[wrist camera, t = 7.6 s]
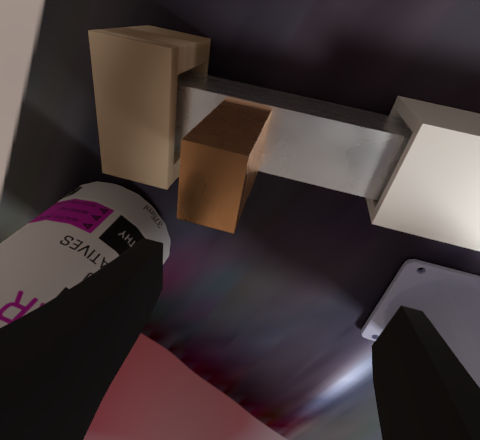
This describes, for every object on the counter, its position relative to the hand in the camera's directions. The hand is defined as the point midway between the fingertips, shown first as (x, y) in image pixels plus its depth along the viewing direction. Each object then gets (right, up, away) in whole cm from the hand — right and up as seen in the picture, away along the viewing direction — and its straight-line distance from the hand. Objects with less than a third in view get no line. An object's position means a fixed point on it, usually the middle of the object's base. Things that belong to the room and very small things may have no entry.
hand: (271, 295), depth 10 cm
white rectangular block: (+10, +6, +7) cm, 13 cm away
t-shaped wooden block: (+2, +8, +7) cm, 11 cm away
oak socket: (-5, +9, +8) cm, 13 cm away
